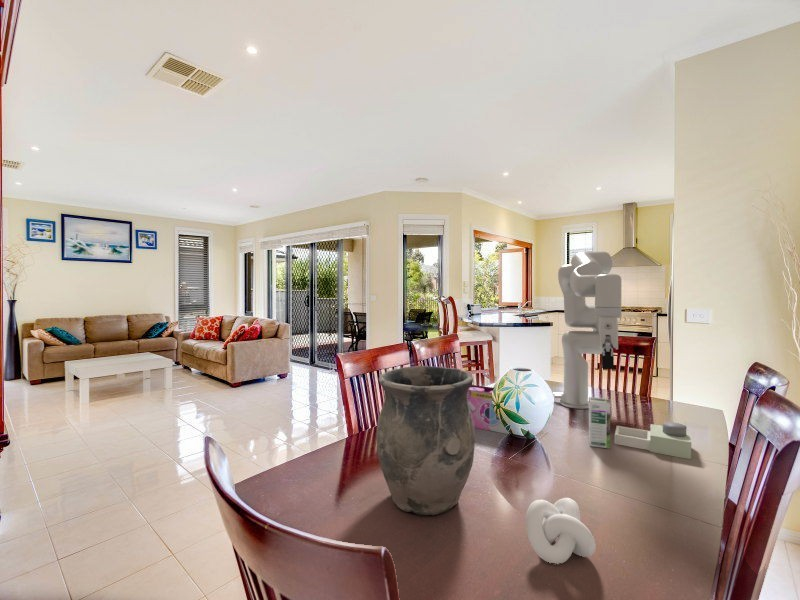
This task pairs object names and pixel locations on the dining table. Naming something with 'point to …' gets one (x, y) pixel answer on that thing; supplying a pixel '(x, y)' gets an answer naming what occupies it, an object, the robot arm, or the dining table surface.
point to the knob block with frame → (657, 439)
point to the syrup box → (599, 422)
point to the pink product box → (483, 409)
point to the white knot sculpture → (558, 530)
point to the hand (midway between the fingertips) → (607, 366)
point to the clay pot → (425, 437)
